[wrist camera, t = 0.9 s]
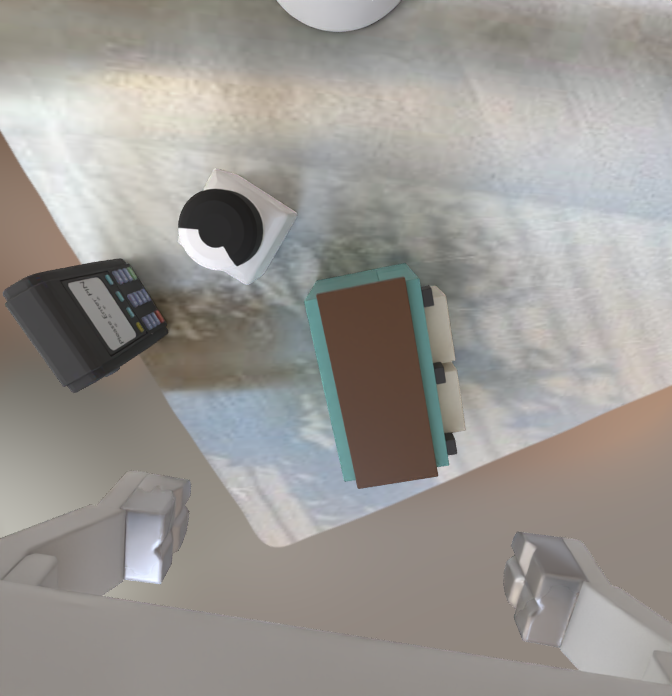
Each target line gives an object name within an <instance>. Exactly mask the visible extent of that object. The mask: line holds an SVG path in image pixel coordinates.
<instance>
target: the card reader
mask: <svg viewBox="0 0 672 696" xmlns="http://www.w3.org/2000/svg"><path fill="white" fill-rule="evenodd" d="M3 296H4V297H5V299H6V300H7V302H6V303H5V305H6V307H7V308H8V310H9V311H10V313H11V314H12V315H13V317H14V318H15V320H16V321H17V322H18V324H19V325H20V327H21V328H22V330H23V331H24V332H25V333H26V335H27V337H28V338H29V339H30V341H31V342H32V344H33V345H34V346H35V348H36V349H37V350H38V352H39V353H40V355H41V356H42V358H43V359H44V360H45V362H46V363H47V365H48V366H49V368H50V369H51V370H52V372H53V373H54V375H55V376H56V377H57V379H58V380H59V382H60V383H61V384H62V386H64V387H65V386H68V388H69V389H70V391H71V392H73V393H76V392H78V391H80V390H82V389H84V388H86V387H87V386H89V385H91V384H93V383H95V382H96V381H98V380H100V379H101V378H103V377H107V376H109V375H111V374H113V373H115V372H116V371H118V370H119V369H120V366H122V365H123V364H125V363H126V362H128V361H129V360H131V359H132V358H134V357H135V356H137V355H138V354H140V353H141V352H143V351H144V350H146V349H147V348H149V347H150V346H152V345H153V344H154V343H156V342H157V341H158V340H160V339H161V338H163V337H164V336H165V335H167V334H168V329H167V328H166V325H167V323H166V321H165V320H164V318H163V317H162V315H161V314H160V312H159V310H158V309H157V307H156V306H155V304H154V303H153V301H152V299H151V298H150V296H149V295H148V293H147V292H146V290H145V288H144V287H143V285H142V284H141V282H140V280H139V279H138V277H137V276H136V274H135V273H134V271H133V269H132V268H131V266H130V265H129V264H126V263H125V262H124V260H123V259H113V260H106V261H99V262H93V263H87V264H82V265H77V266H71V267H67V268H61V269H56V270H50V271H46V272H41V273H36V274H33V275H30V276H27V277H25V278H23V279H22V280H20V281H18V282H16V283H15V284H13V285H11V286H10V287H8V288H7V289H5V290H4V292H3Z"/></svg>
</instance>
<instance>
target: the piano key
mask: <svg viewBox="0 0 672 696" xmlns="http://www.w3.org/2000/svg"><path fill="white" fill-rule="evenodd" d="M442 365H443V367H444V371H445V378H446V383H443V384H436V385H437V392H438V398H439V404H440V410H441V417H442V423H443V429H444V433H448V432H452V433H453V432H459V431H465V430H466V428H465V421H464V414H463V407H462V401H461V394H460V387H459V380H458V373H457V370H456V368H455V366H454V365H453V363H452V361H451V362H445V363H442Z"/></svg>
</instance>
